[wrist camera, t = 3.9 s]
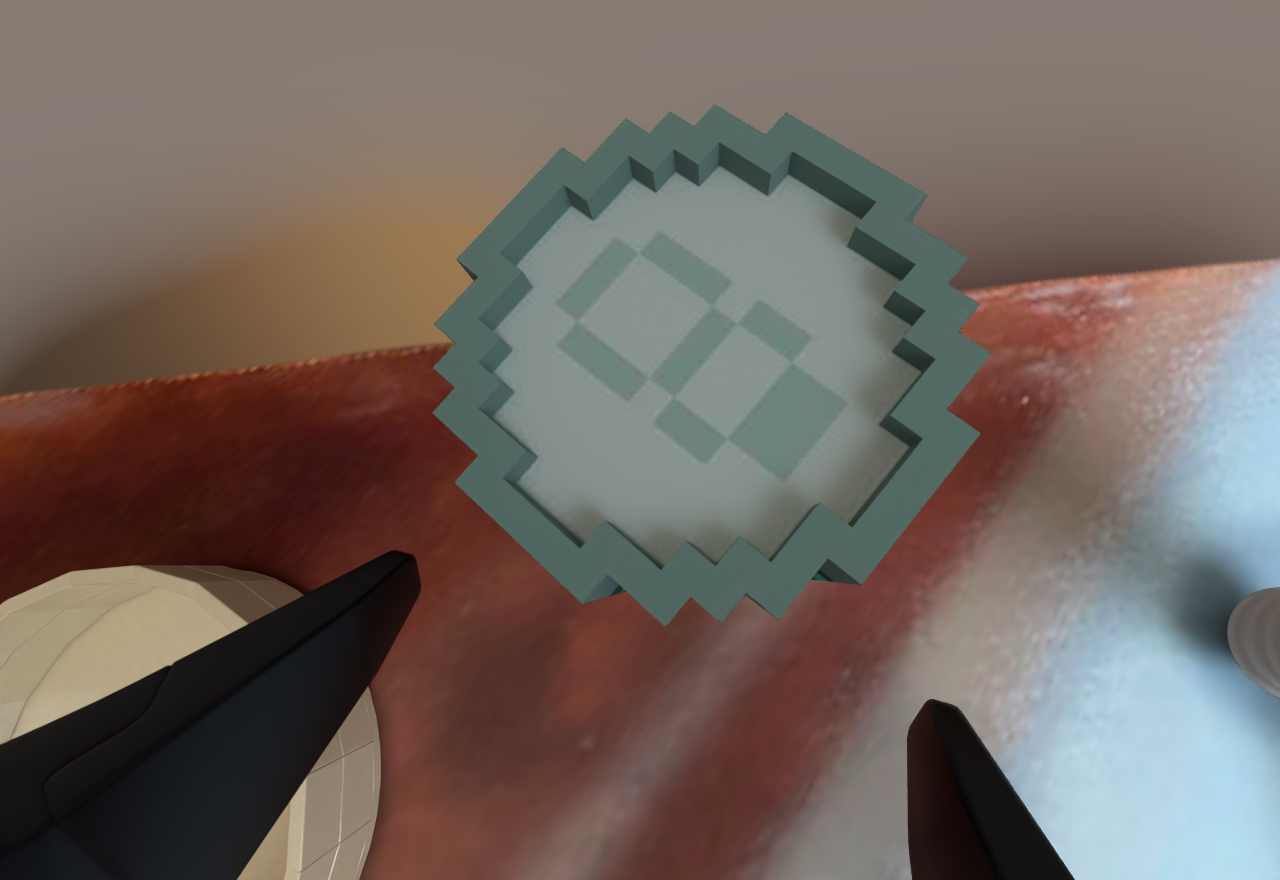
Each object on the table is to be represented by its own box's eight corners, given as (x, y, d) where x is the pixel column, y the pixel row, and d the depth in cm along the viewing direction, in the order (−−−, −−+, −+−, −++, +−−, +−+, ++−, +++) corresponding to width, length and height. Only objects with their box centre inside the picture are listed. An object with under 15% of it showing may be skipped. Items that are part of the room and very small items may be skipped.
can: (715, 615, 20) (733, 746, 5) (593, 507, 21) (344, 378, 7) (820, 487, 20) (1092, 291, 6) (693, 390, 22) (662, 40, 7)
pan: (465, 825, 19) (404, 889, 15) (97, 1159, 18) (-67, 1316, 14) (251, 488, 23) (160, 471, 19) (-60, 748, 22) (-221, 785, 19)
